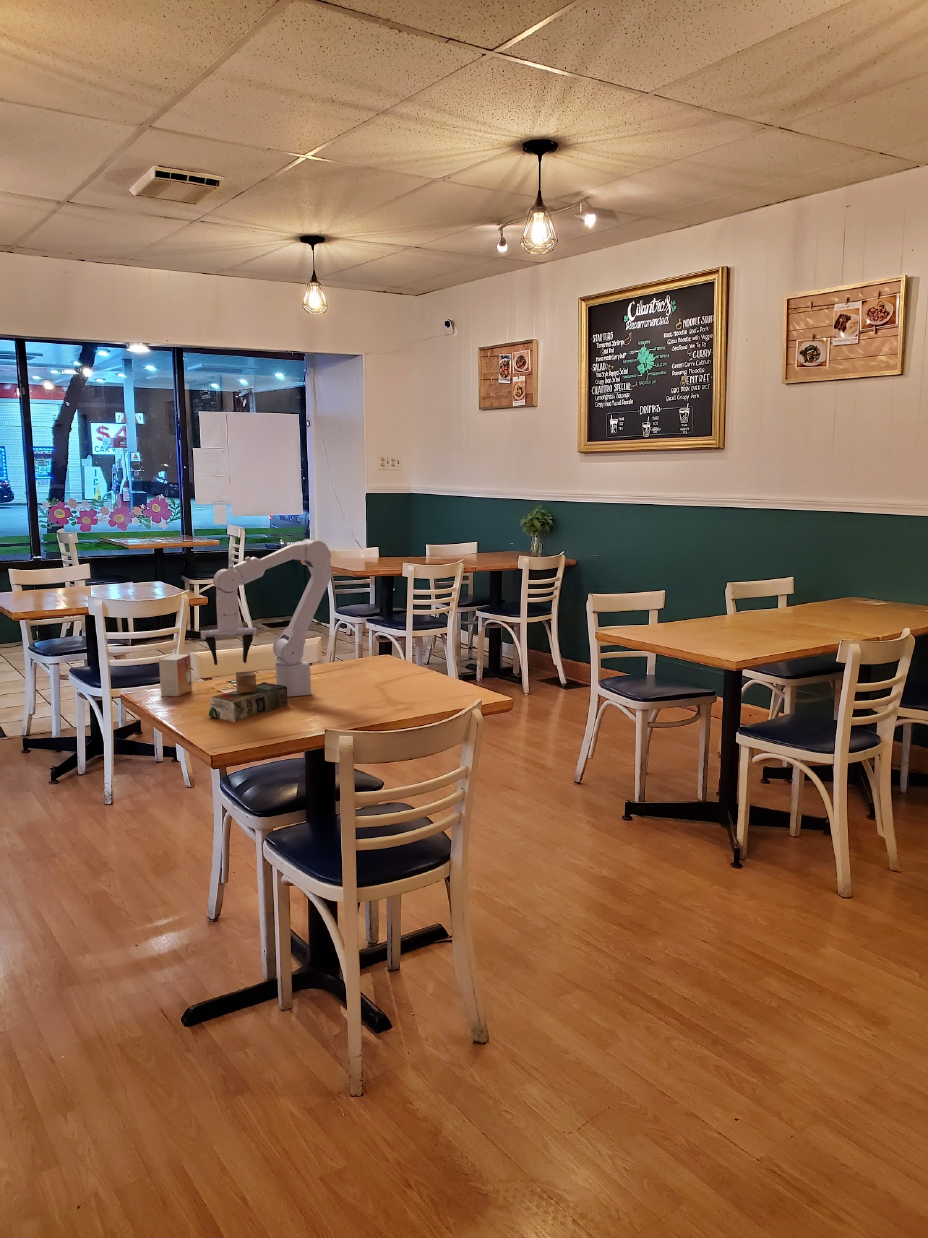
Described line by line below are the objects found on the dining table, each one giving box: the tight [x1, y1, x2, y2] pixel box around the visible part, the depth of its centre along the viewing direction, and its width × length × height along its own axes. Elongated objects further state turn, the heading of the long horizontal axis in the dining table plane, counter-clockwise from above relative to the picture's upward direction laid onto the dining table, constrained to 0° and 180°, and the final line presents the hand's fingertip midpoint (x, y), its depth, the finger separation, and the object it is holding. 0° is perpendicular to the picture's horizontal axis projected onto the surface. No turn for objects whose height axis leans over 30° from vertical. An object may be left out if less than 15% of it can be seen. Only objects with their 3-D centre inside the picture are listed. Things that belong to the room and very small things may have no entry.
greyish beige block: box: [235, 670, 257, 693], centre depth 244 cm, size 4×4×4 cm
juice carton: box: [208, 681, 289, 723], centre depth 244 cm, size 20×10×6 cm, turn 146°
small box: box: [158, 653, 193, 697], centre depth 263 cm, size 8×6×10 cm
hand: (230, 663), depth 254 cm, fingers open, 7 cm apart
